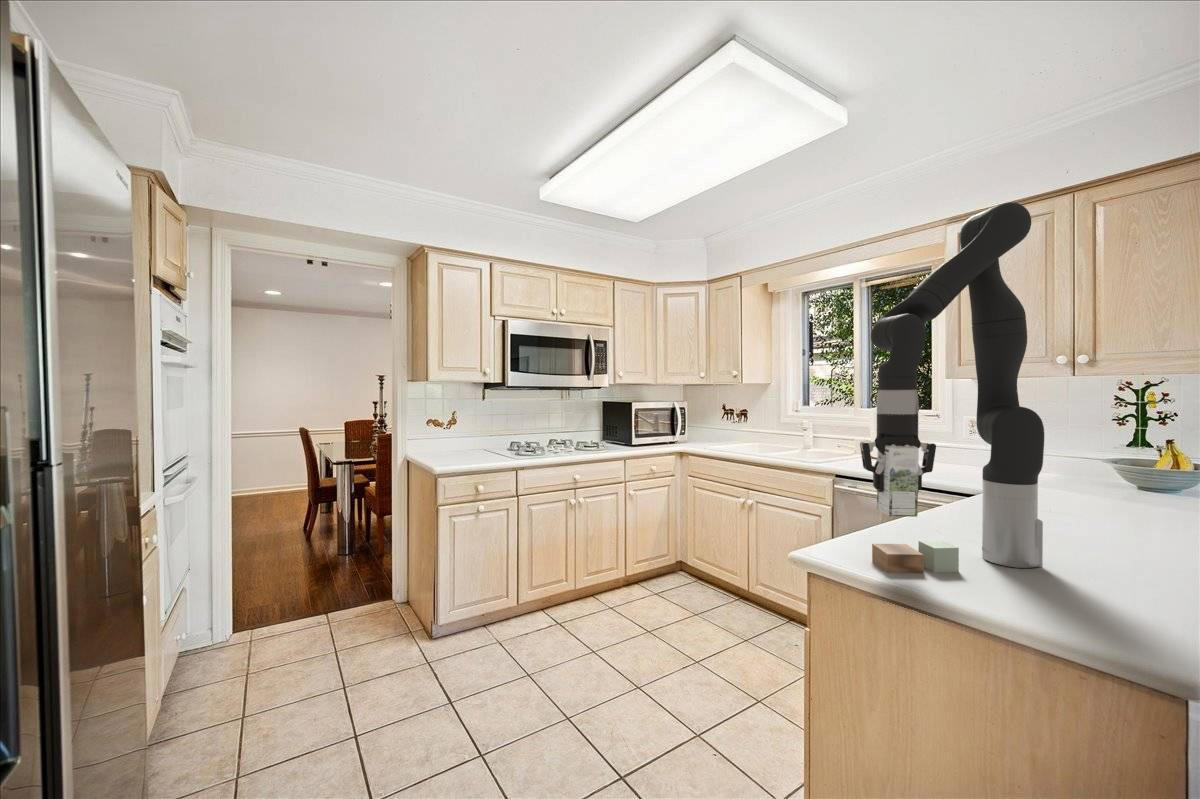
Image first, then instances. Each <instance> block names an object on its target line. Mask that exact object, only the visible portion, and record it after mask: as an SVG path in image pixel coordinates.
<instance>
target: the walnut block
mask: <svg viewBox="0 0 1200 799" xmlns="http://www.w3.org/2000/svg"><path fill="white" fill-rule="evenodd" d="M871 549H872V550H871V555H872V557H871V558H872V559H871V560H872V562H873V563H874V564H876V565H877V566H878V567H880V568H881V569H882V570H884V571H885V572H886V573H890V574H891V573H892V574H893V573H895V574H896V573H897V574H898V573H901V574H902V573H903V574H905V573H906V574H924V571H925V570H924V569H925V567H924V555H923V554H922V553H920V552H919V550H917V549H915V548H913V547H912V546H911V545H909V544H907V543H871Z"/></svg>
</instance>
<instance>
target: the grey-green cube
mask: <svg viewBox="0 0 1200 799" xmlns="http://www.w3.org/2000/svg"><path fill="white" fill-rule="evenodd" d="M959 551H960V550H959V547H958V546H955V545H954V544H951V543H949V542H946V541H945V540H918V552H920V553H922V554H923V555H924V569H925V568H926V569H927V570H930V571H932V572H933V573H959V570H960V568H959V567H960V564H959V562H960V557H959V553H960V552H959Z"/></svg>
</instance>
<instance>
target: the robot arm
mask: <svg viewBox="0 0 1200 799" xmlns="http://www.w3.org/2000/svg"><path fill="white" fill-rule="evenodd" d="M1031 227H1032V217H1031V214H1030V212H1029V210H1028V208H1026V207H1025V206H1024V205H1023V204H1021V203H1018V202H1003V203H1001V204H1000V203H999V204H998V205H995V206H993V207H990V208H988V209H986V210H983V211H981V212H979V213H977V214H974V215H972V216H970V217H968V219H966V220H965V221H964V222H963V224H962V226H961V228H960V232H959V242H960V251H959V252H958V253H956V254H955V255H954V256H952V257H951V258H949V259H948V260H947V261H945V262H944V263H942V264H941V265H940V266H938V267H937V268H936V269H934V270H933V271H932V272H931V273H930V274H929V275H927V276H926V277H925V278H924V279H923V280H922V281H921V282H920V283H919V284H918V285H917V286H916V287H915V288H914V289H913V290H912V291H911V293H909V295H908V296H907V297H906V298H905V299H903V300H902V301H901V302H898V303H897V304H896V305H895V306H893V307H892V308H891V309H889V310H888V311H886V313H884V314H883V315H882V316H881V317H880V318H879V319H877V321H875V323H874V325H873V327H872V328H871V332H870V340H871V342H872V344H873V346H875V347H876V348H877V349H880V350H882V351H890V353H889V354H890V355H889V358H888V360H887V361H885V362H883V363H881V364H880V365H879V367H878V374H877V383H878V385H877V397H876V437H875V439H874V441H860V443H859V448H860V454H861V462H862V467H863V469H864V470H866V471H867V472H871V473H872V480H873V481H872V486H873V488H874V489H875V490H876V492H877V491H878V492H883V475H882V474H881V473H882V471H883V469H884V467H885V465H886V453H885V447H886V446H885V445H888V446H904V447H910V446H915V447H917V448H918V449H920V448H921V450H920V451H921V452H922V453H923V456H922V463H921V466H920V464H919V463H918V494H919V491H921V490H922V489H923V488H922V487H923V484H922V483H923V482H922V481H923V475H924V474H926V473H932V472H933V470H934V469H933V468H934V464H935V457H936V450H937V445H936V444H935V443H934V442H933V443H932V442H929V441H928V442H922V441H921V440H920V439H919V438H920V437H919V411H920V405H919V396H918V368H919V364H920V362H921V358H922V356H923V355H922V354H923V352H924V348H925V343H926V339H927V329H926V325H925V323H928V322H930V321H933V320H934V319H936V318H938V316H939V315H941V314H942V312H943V311H944V310H945V309H947V307H948V306H949V305H950V304H951V303H952V302H953V301H954V300H955V298H957V296H958V295H960V294H961V292H962V291H964V289H965V288H968V293H969V294H968V296H969V304H970V312H971V332H972V334H971V335H972V342H973V344H972V345H973V350H974V351H973V352H974V360H975V372H976V380H977V399H976V400H977V404H976V422H975V423H976V430H977V432H978V434H979V437H980V438H981V439H982V440H983V441H984V442H985V443H986V444H989V445H990V457H989V461H988V462H987V463H986V464H985V465H983V467H982V516H981V517H982V519H981V520H982V533H981V538H982V545H981V550H982V552H981V553H982V554H981V555H982V559H984V560H986V561H988V562H990V563H993V564H997V565H1000V566H1005V567H1011V568H1019V569H1033V568H1037V567H1039V568H1041V567H1042V568H1043V566H1044V565H1043V563H1044V562H1043V560H1044V559H1043V558H1044V557H1043V555H1044V554H1043V553H1044V550H1043V549H1044V548H1043V546H1044V542H1043V538H1044V532H1043V531H1044V530H1043V528H1044V522H1043V521H1042V520H1041V519H1039V517H1038V513H1039V512H1038V510H1039V509H1038V506H1039V505H1038V504H1039V502H1038V501H1039V498H1038V496H1039V492H1038V490H1039V484H1038V483H1039V475H1040V473H1041V472H1042V469H1043V465H1044V454H1045V453H1044V452H1045V451H1044V450H1045V426H1044V422H1043V420H1042V418H1041V416H1040V415H1039V414H1038V413H1037V412H1036V411H1034V410H1033V409H1030V408H1029V407H1025V406H1021V405H1020V401H1019V393H1018V377H1019V372H1020V370H1021V367H1022V365H1023V364H1022V363H1023V361H1024V357H1025V354H1026V350H1027V346H1028V328H1027V315H1026V311H1025V309H1024V306H1023V304H1022V303H1021V300H1020V299H1019V298H1018V297H1017V295H1016V294H1014V292H1013V291H1012V289H1010V288H1009V286H1008V285H1007V283H1006V281H1004V278H1003V276H1002V272H1001V268H1000V260H999V258H1001V257H1002V256H1004V255H1006V253H1007V252H1008V251H1011V250H1012V249H1013V248H1015V247H1016V246H1017V245H1019V244H1020V243H1021V242H1022V241H1024V240H1025V238H1027V236H1028V234H1029V232H1030V230H1031ZM874 447H875V448H876V450H877V451H878V450H879V452H880V453H881V454H882V455H884V456H883V458H882V459H880V455H879V456H878V455H877V458H876V461H875V463H874V465H873V461H872V456H871V455H872V454H871V453H872V452H874ZM884 453H885V454H884Z"/></svg>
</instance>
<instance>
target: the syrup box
mask: <svg viewBox="0 0 1200 799" xmlns="http://www.w3.org/2000/svg"><path fill="white" fill-rule="evenodd" d="M885 446H886V447H885V453H886V465H885V467H884V469H883V471H882V473H881V474H882V475H883V492H878V491H877V490H876V492H877V493H876V494H877V495H876V496H877V497H876V509H877V511H878V512H881V513H882V514H884V515H886V516H888V517H905V518H906V517H909V518H910V517H912V518H913V517H916V518H917V517H918V512H919V511H918V510H919V508H918V507H919V506H918V505H919V504H918V503H919V500H918V499H919V493H918V464H919V461H920V460H919V457H920V455H919V453H920V452H919V451H920V450H919V449H920V448H919V449H918V448H917V447H915V446H910V447H904V446H888V445H885ZM885 453H884V454H885ZM879 455H880V459H882V458H883V456H884V455H882V454H881V453H880V452H879V450H878V449H877V457H878V456H879Z"/></svg>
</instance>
